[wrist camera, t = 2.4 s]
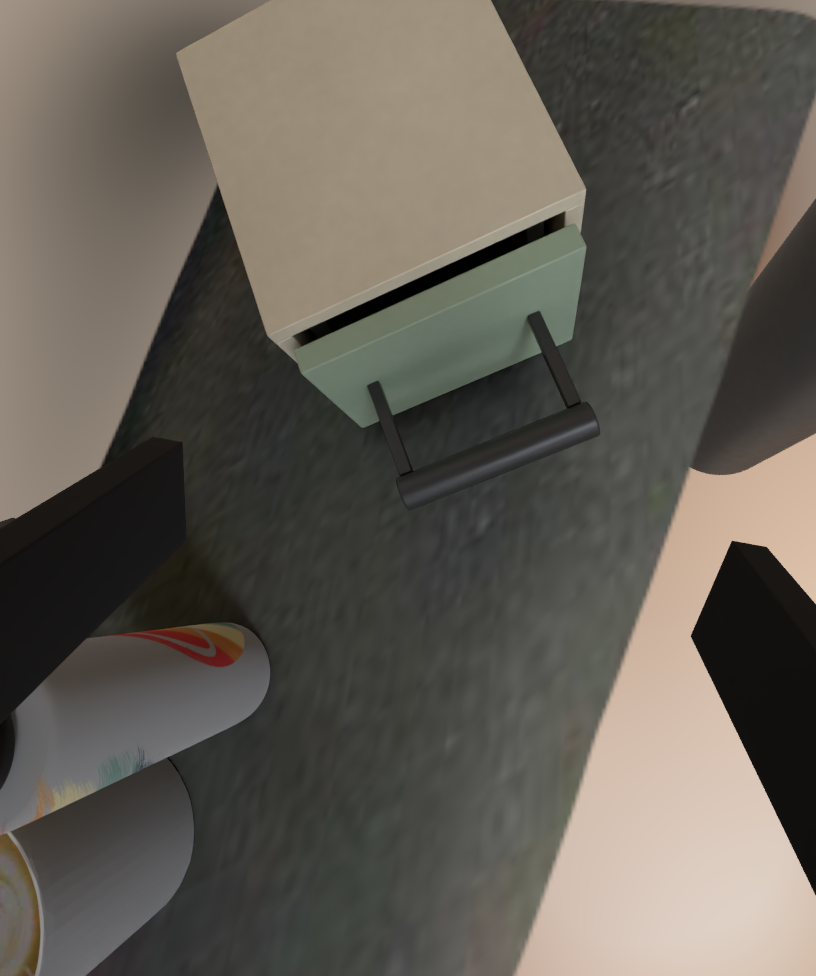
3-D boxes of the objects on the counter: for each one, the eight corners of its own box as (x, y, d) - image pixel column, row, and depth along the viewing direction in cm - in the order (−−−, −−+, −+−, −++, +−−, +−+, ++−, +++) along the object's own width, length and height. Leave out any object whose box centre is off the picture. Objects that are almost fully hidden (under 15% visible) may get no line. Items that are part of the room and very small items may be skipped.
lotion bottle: (207, 604, 33) (-234, 634, 14) (289, 647, 32) (-80, 746, 13) (166, 695, 33) (-345, 853, 14) (246, 743, 32) (-200, 993, 12)
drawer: (621, 446, 29) (658, 389, 21) (398, 533, 31) (347, 514, 22) (474, 129, 34) (455, -23, 25) (288, 221, 35) (211, 107, 27)
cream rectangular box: (569, 316, 32) (587, 188, 21) (348, 411, 34) (267, 336, 23) (469, 101, 35) (442, -97, 25) (273, 198, 37) (174, 52, 27)
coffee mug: (76, 711, 34) (-104, 762, 25) (217, 774, 32) (79, 858, 22) (-3, 940, 33) (-224, 1089, 23) (138, 1024, 30) (-45, 1230, 21)
